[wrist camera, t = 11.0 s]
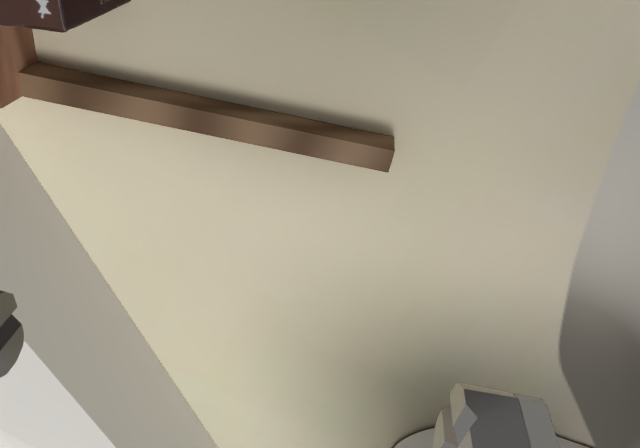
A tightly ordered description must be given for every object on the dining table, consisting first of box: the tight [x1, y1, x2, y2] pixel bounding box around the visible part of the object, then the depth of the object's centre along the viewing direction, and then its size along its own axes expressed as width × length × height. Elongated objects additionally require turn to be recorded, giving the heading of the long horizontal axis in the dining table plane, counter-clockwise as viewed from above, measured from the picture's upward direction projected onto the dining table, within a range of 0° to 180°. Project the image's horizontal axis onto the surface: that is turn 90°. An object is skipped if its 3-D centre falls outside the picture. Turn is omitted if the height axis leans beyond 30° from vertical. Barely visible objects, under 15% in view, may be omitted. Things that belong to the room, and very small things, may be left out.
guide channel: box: [0, 25, 395, 172], centre depth 27 cm, size 25×14×4 cm, turn 80°
